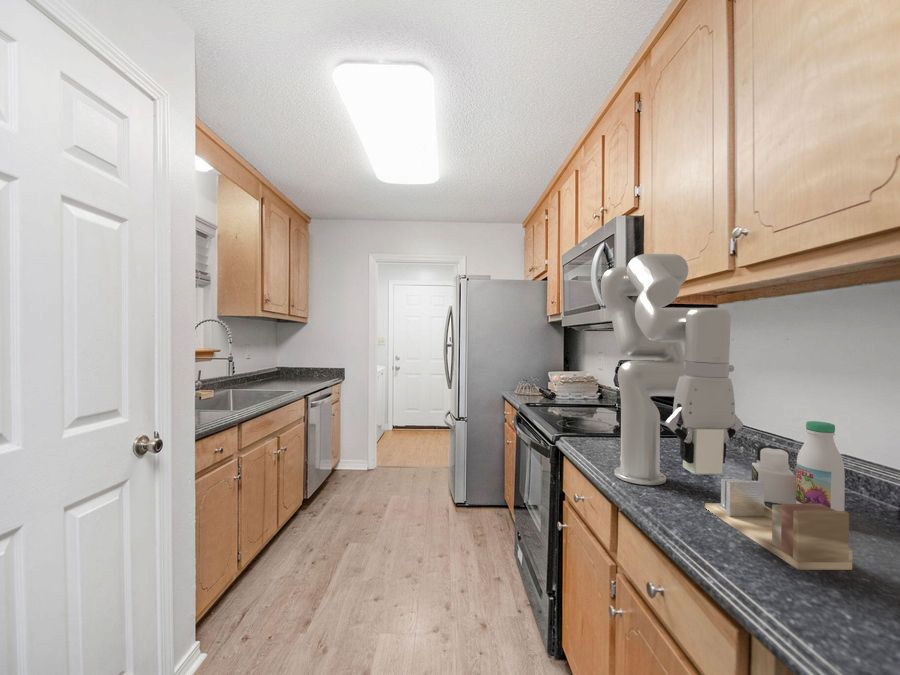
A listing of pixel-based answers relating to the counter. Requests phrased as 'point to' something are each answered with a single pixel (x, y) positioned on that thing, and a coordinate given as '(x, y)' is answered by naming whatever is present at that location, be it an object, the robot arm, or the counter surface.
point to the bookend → (742, 498)
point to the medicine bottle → (775, 474)
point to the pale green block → (707, 451)
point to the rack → (798, 534)
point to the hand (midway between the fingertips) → (702, 460)
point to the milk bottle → (820, 468)
